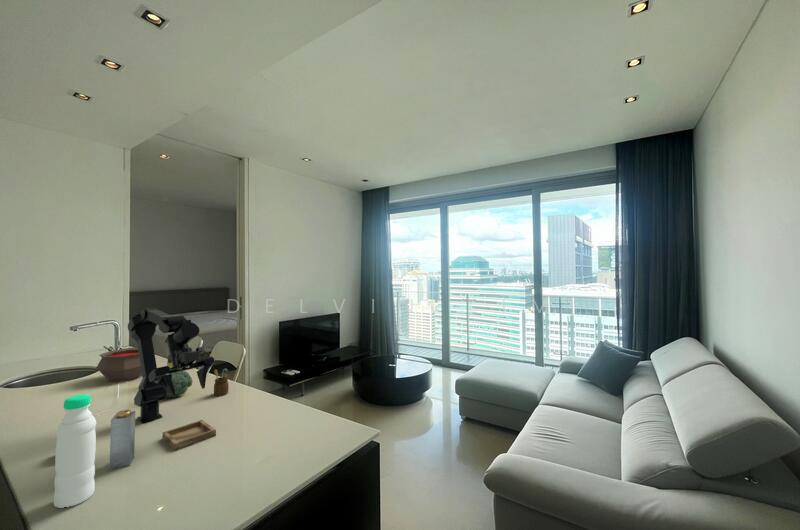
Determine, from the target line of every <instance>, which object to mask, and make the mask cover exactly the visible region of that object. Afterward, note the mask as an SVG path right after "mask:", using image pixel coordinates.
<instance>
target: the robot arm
mask: <svg viewBox="0 0 800 530" xmlns="http://www.w3.org/2000/svg"><path fill="white" fill-rule="evenodd" d="M157 326H158V330H159V331H160V332H161V333H163V334H168V333H170V334H168V335H167V336H166V338H165V339H164V343H166V345H167V348H168V352H169V355H170V356H169V355H168V356H169V359H171V361H172V366H173V367H171V368H169V367H168V366H167V365H165V366H160V367H158V366H157V365H158V364H157V361H156V353H155V348H154V341H153V336H154V334H155V333H156V331H157ZM127 331H128V332H129V335H130V337H131V339H133V340H134V341H135V342H136V343H137V348H138V351H139V358H140V364H141V371H142V376H141V377H142V379H141V381H140V383H139V385H138V388H137V389H138V391H137V393H136V394H135V396H134V398H133V403H134V405H135V406H137V407H140V412H139V413H140V414H139V415H140V416H137V418H136V419H137V420H138V421H139V422H140V423H141V424H143V423H148V422H150V421H154V420H157V419H161V418H163V415H162V414H161V413H160V401H164V400H166V394H167V391H168V393H169V394H170V395H171V396H172V397H171V398H175V397H177V396H176V395H175V390H174V386H173V383H172V374H173V373H177V372H181V371H189V370H193V369H194V370H195V369H196V370H197V371H196V375H197V378H198V381H199V385H200V387H201V389H206V382H207V376H208V371H209V369H210V368H211V367H212V366H213V365H214V364H216V360H215V358H214V356H206V350H205V347H204V346H200V347H196V349H195V350H193V349H192V347H189V343H190V342H191V341H192V340H194V339H195V338H196V337H198V336H199V334H200V327H199V326H198V325H197V324H196V323H194V322H192V321H191V319H188V318H186V317H185V316H184V315H182V314H168V313H166V312H164V311H161V310H159V308H155V307H152V308H144V309H141V310H140V312H139V313H137V314H136V315H134V316H132V317H131V319H130V320H129V322H128V323H127ZM205 356H206V357H205ZM181 368H182V369H181ZM178 369H179V370H178Z"/></svg>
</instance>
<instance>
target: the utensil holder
mask: <svg viewBox="0 0 800 530" xmlns="http://www.w3.org/2000/svg"><path fill="white" fill-rule="evenodd" d="M222 370H223V371H222V373H224V371H227V368H224V369H222ZM213 372H214V376H215V377H216V378H215V379H214V383H213V384H214V385H213V395H214V396H215V397H222V396H225V395H227V394H229V385H230V384H229V381H228V380H229V378H228V377H227V376H228V375H226V374H223V376H221V377H219V373H218V369H214V371H213Z"/></svg>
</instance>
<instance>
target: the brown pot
mask: <svg viewBox="0 0 800 530" xmlns="http://www.w3.org/2000/svg"><path fill="white" fill-rule="evenodd" d="M99 356H100V357H101V359H100V360H99V362H98V364H97V366H96V367H95V368H96V370H97V371H98V372H99V373H101V375H103V376H104V378H106V379H107V380H108V381H109V382H110V383H119V382H128V381H133V380H137V379H139V378H140V377H142V371H141V364H140V358H139V351H138V347H126V348H120V349H115V350H114V347H113V346H109V347H108V349H107V351H106V352H104V353H101V354H99Z"/></svg>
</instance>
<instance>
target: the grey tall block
mask: <svg viewBox="0 0 800 530" xmlns="http://www.w3.org/2000/svg"><path fill="white" fill-rule="evenodd" d="M135 437H136V411H135V410H134V411H133V410H131V409H123V410H119V411H118V412H116V413H115V415H114V416H113V417H112V418H111V419H110V443H109V471H112V470H111V469H113V470H117V469H121V467H122V468H126V467H130V466H131V465H132V463H133V461H134V459H135V443H136V442H135V440H136V439H135Z"/></svg>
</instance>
